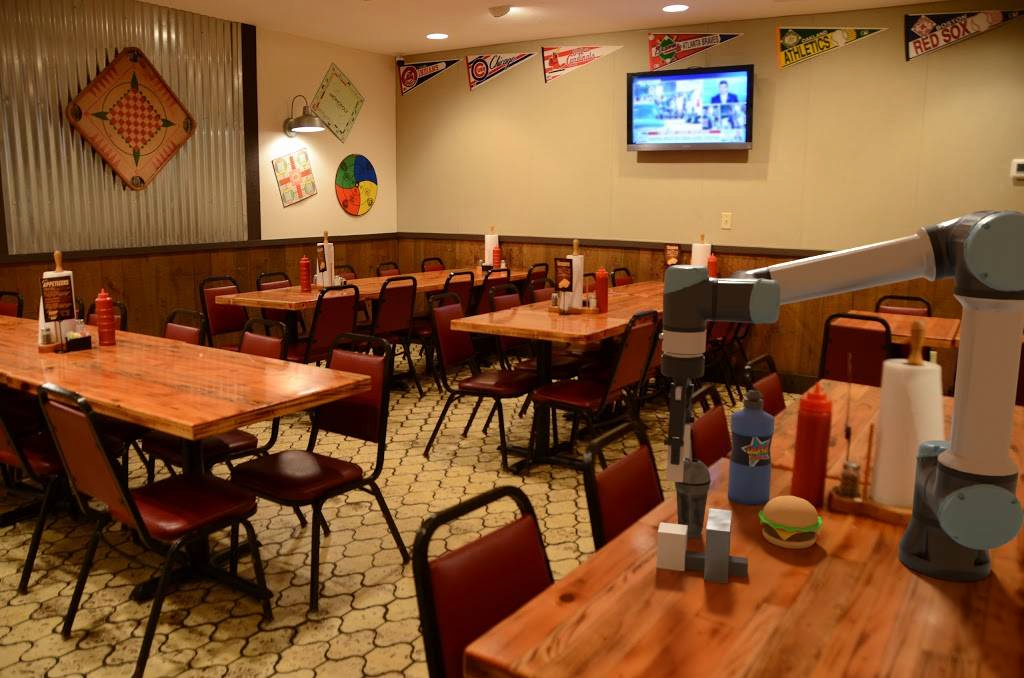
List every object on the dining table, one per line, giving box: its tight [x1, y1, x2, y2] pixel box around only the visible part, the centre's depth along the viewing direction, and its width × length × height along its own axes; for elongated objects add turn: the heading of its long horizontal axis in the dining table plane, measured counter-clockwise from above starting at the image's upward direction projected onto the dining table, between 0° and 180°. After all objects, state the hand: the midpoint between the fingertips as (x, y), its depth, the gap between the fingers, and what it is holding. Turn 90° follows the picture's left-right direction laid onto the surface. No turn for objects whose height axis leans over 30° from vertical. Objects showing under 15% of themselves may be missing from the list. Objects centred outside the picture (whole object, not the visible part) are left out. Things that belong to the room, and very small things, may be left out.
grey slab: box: [703, 507, 733, 585], centre depth 146 cm, size 4×10×10 cm, turn 163°
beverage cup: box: [674, 438, 712, 539], centre depth 161 cm, size 7×7×20 cm
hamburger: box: [757, 495, 823, 550], centre depth 160 cm, size 12×12×9 cm
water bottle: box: [727, 388, 776, 506], centre depth 180 cm, size 9×9×25 cm
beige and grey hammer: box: [656, 521, 749, 578], centre depth 147 cm, size 16×4×7 cm, turn 73°
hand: (678, 468), depth 146 cm, fingers open, 13 cm apart
